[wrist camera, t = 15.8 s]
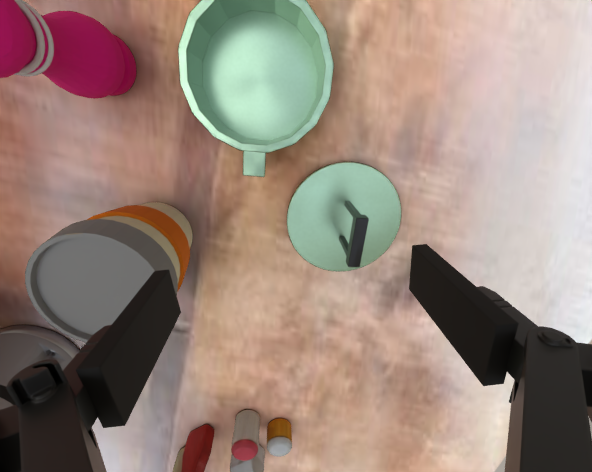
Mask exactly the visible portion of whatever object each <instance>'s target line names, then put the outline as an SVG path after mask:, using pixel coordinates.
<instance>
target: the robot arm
mask: <svg viewBox="0 0 592 472" xmlns="http://www.w3.org/2000/svg"><path fill="white" fill-rule="evenodd" d="M409 289H410V291H411V292H412V293H413V295H414V296H415V297H416V299H417V300H418V301H419V303H420V304H421V305H422V306H423V308H424V309H425V310H426V312H427V313H428V314H429V316H430V317H431V318H432V320H433V321H434V322H435V323H436V325H437V326H438V327H439V329H440V330H441V331H442V333H443V334H444V335H445V337H446V338H447V339H448V340H449V342H450V343H451V344H452V346H453V347H454V348H455V350H456V351H457V352H458V354H459V355H460V356H461V357H462V359H463V360H464V361H465V363H466V364H467V365H468V367H469V368H470V369H471V371H472V372H473V373H474V374H475V376H476V377H477V378H478V380H479V381H480V382H481V384H482V385H483V386H487V385H496V384H504V380H505V376H506V372H508V373H509V374H510V375H511V376H512V377H513V378H514V379H515V381H514V385H513V388H512V392H511V396H510V400H509V402H510V403H511V412H510V422H509V433H508V443H507V453H506V464H505V472H592V439H591V432H590V425H589V418H590V420H591V421H592V344H584V343H576V342H575V341H574V340H573V339H572V338H571V337H570V336H568V335H566V334H564V333H563V332H561V331H558V330H555V329H552V328H548V327H538V326H537V325H536V324H534V323H533V322H532V321H531V320H529V319H528V318H527V317H526V316H524V315H523V314H522V313H521V312H519V311H518V310H517V309H516V308H514V307H512V305H511V304H509V303H508V302H507V301H505V300H504V299H503V298H502V297H501V296H500V295H498V294H497V293H496V292H494V291H492V290H490V289H488V288H486V287H484V286H480V287H476V286H475V285H473V284H472V283H471V282H470V281H469V280H468V279H466V278H465V277H464V276H463V275H462V274H461V273H459V272H458V271H457V270H456V269H455V268H454V267H452V266H451V265H450V264H449V263H448V262H447V261H445V260H444V259H443V258H442V257H441V256H440V255H438V254H437V253H436V252H435V251H434V250H433V249H431V248H430V247H429V246H428V245H427V244H423V245H413V246H412V258H411V271H410V285H409ZM180 313H181V311H180V307H179V304H178V300H177V297H176V293H175V289H174V286H173V282H172V278H171V275H170V271H169V270H159V271H154V272H153V273H152V275H151V276H150V277H149V279H148V280H147V281H146V282H145V284H144V285H143V286H142V287H141V289H140V290H139V291H138V292H137V294H136V295H135V296H134V297H133V299H132V300H131V301H130V302H129V304H128V305H127V306H126V307H125V309H124V310H123V311H122V312H121V314H120V315H119V316H118V317H117V319H116V320H115V321H114V322H113V324H112V325H107V326H104V327H103V328H101V329H100V330H99V331H97V332H96V333H94V334H93V335H92V337H91V338H90V339H89V340H88V341H87V342H86V345H84V346H83V347H82V348H81V350H80V351H79V349H78V348H77V347H76V346H75V345H74V344H73V343H72V342H70V341H69V340H68V339H66V338H65V337H63V336H61V335H60V334H58V333H56V332H53V331H51V330H48V329H45V328H42V327H37V326H31V325H15V326H9V327H6V328H3V329H0V472H106V469H105V465H104V462H103V459H102V456H101V453H100V450H99V446H98V443H97V440H96V437H95V434H94V432H93V430H92V428H91V427H92V425H93V424H94V422H95V420H96V419H97V417H98V418H99V420H100V422H101V424H102V426H103V428H107V427H116V426H125V424H126V422H127V420H128V418H129V416H130V414H131V412H132V410H133V408H134V406H135V404H136V402H137V400H138V398H139V396H140V394H141V392H142V390H143V388H144V386H145V384H146V382H147V380H148V378H149V376H150V374H151V372H152V370H153V368H154V366H155V364H156V362H157V360H158V357H159V355H160V353H161V351H162V349H163V347H164V345H165V343H166V341H167V339H168V337H169V335H170V333H171V331H172V329H173V327H174V325H175V323H176V321H177V319H178V317H179V315H180ZM588 416H589V418H588Z"/></svg>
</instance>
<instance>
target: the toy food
mask: <svg viewBox="0 0 592 472" xmlns="http://www.w3.org/2000/svg"><path fill="white" fill-rule="evenodd" d="M259 429H260V416H259V414H258V413H257V412H255V411H253V410H244V411H241V412H239V413H238V414H237V416H236V419H235V426H234V433H233V440H232V449H231V451H232V457H231V464H230V471H231V472H264V455H265V450H264V449H263V448H262V447H261V446H260V445H259V444H258V443H259ZM213 437H214V429H213V428H212V427H211V426H209V425H207V424H205V425H203V426H201V427H199V428H197V429H195V430H193V431H191V432H190V434H189V436H188V439H187V442H186V446H185V447H184V448H182V449H181V450H180V451H179V453H178V455H177V458H176V461H175V465H174V468H173V472H204V470H205V467H206V464H207V461H208V459H209V456H210V453H211V448H212V443H213ZM291 448H292V436H291V424H290V423H289V422H288V421H287V420H286V419H274V420H272V421H271V422H270V423H269V424H268V427H267V450H268V451H269V453H270V454H272V455H274V456H284V455H286V454H288V453H289V452H290V450H291Z"/></svg>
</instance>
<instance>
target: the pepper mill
mask: <svg viewBox="0 0 592 472" xmlns="http://www.w3.org/2000/svg"><path fill="white" fill-rule="evenodd" d="M41 73H42V74H44V75H45V76H47V77H48V78H49V79H50V80H51V81H53V82H54V83H55V84H56V85H58V86H59V87H61V88H63V89H65V90H66V91H68V92H70V93H73V94H75V95H79V96H83V97H87V98H102V97H106V96H108V95H111V96H115V95H120V94H123V93H125V92H127V91H128V90H129V89H130V88H131V87H132V85H133V83H134V81H135V77H136V63H135V60H134V57H133V55H132V53H131V51H130V49H129V48H128V46H127V45H126V44H125V43H124V42H123V41H122V40H121V39H120V38H118V37H117V36H115V35H113V34H112V33H111V32H110V31H109V30H108V29H107V28H106V27H104V26H103V25H102V24H101V23H100V22H98V21H96V20H95V19H93V18H91V17H88V16H86V15H83V14H80V13H77V12H72V11H58V12H53V13H49V14H46V15H44V16H42V15H40V14H39V13H38V12H37V11H36V10H35V9H34V8H33V7H32V6H30V5H29V4H28V3H26V2H24V1H23V0H0V78H3V77H9V76H11V75H13V74H15V75H21V76H35V75H38V74H41Z"/></svg>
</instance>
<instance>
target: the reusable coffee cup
mask: <svg viewBox="0 0 592 472" xmlns="http://www.w3.org/2000/svg"><path fill="white" fill-rule="evenodd" d="M192 240H193V233H192V229H191V226H190V224H189V222H188V220H187V219H186V217H185V216H184V215H183V214H182V213H181V212H180V211H178V210H177V209H176V208H174V207H172V206H170V205H168V204H164V203H159V202H149V203H145V204H141V205H132V206H125V207H121V208H118V209H114V210H111V211H108V212H105V213H101V214H98V215H95V216H93V217H91V218H89V219H87V220H84V221H80V222H77V223H73V224H71V225H70V226H68V227H66V228H64V229H62V230H61V231H59V232H58V233H57V234H55V235H54V236H53V237H51V238H50V239H49V240H47V241H46V242H45V243H43V244H42V245H41V246H40V247H39V248H38V249H37V250H36V251H34V253H33V255H32V256H31V258H30V259H29V261H28V264H27V268H26V271H25V284H26V288H27V292H28V295H29V297H30V299H31V302H32V304H33V306H34V307H35V308H36V310H37V311H38V312H39V314H40V315H41V316H42V317H43V318H44V319H45V320H46V321H47V322H48V323H49V324H50V325H52V326H53V327H54V328H56V329H57V330H59V331H60V332H62V333H64V334H66V335H68V336H69V337H71V338H74V339H76V340H79V341H82V342H85V343H86V342H87V341H88V340H89V339H90V338H91V337H92V335H93V334H94V333H96V332H97V331H99V330H100V329H101V328H103V327H104V326H107V325H112V324H113V322H114V321H115V320H116V319H117V317H118V316H119V315H120V314H121V312H122V311H123V310H124V309H125V307H126V306H127V305H128V304H129V302H130V301H131V300H132V299H133V297H134V296H135V295H136V294H137V292H138V291H139V290H140V289H141V287H142V286H143V285H144V284H145V282H146V281H147V280H148V279H149V277H150V276H151V275H152V273H153V272H154V271H159V270H169V271H170V275H171V278H172V282H173V286H174V289H175V293H176V295H177V292H178V290H179V288H180V286H181V284H182V282H183V279H184V276H185V273H186V270H187V267H188V263H189V259H190V247H191V244H192Z"/></svg>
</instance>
